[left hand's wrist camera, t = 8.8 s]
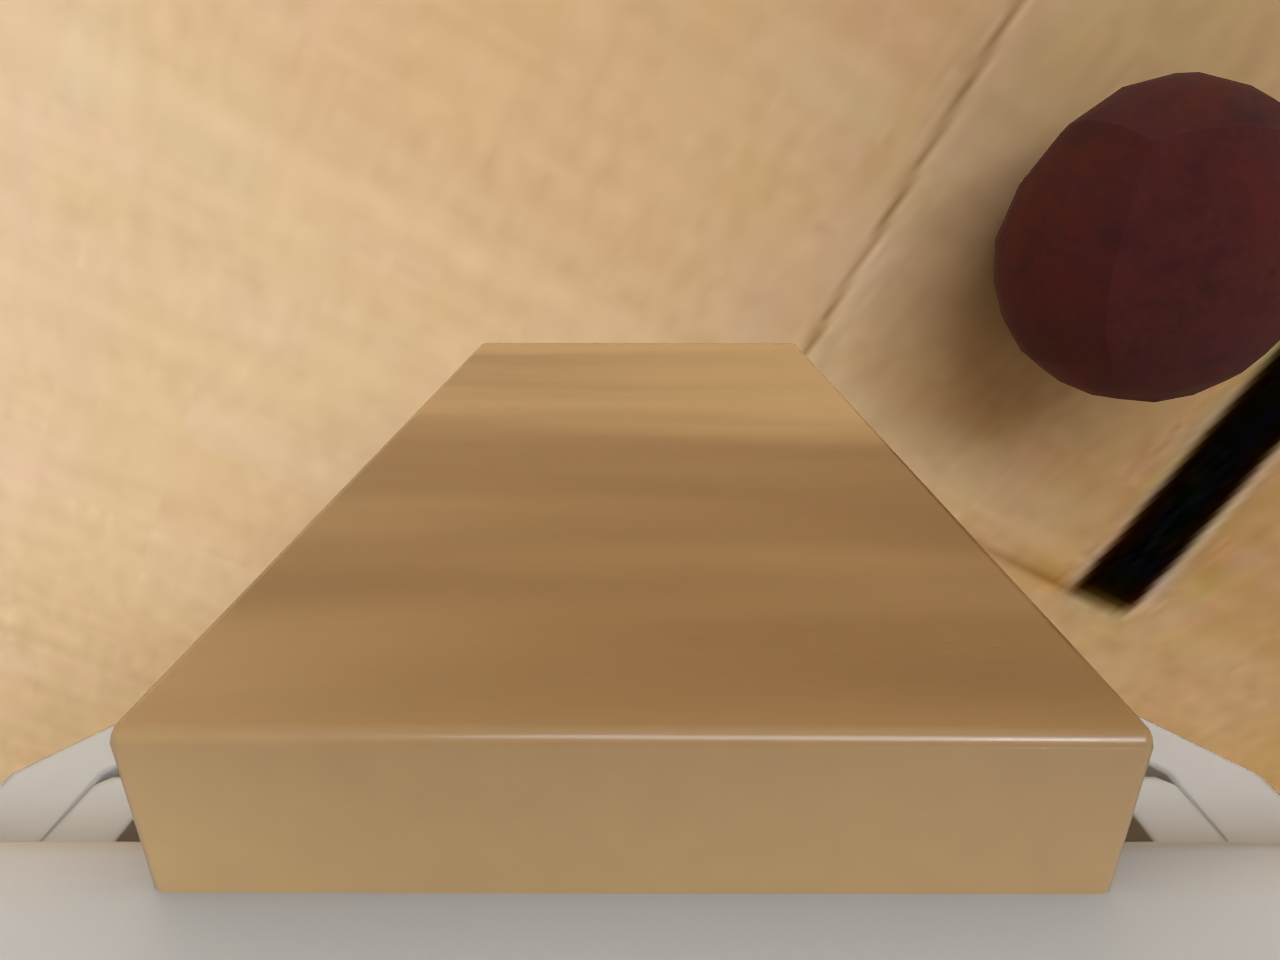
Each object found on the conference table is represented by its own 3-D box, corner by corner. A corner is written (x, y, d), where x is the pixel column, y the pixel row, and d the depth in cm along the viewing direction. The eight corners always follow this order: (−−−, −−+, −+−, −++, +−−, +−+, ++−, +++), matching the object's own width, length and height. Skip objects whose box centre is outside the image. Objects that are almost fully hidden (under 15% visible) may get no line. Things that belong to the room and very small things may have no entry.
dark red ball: (938, 368, 24) (1051, 440, 17) (972, 90, 21) (1123, 50, 14) (1175, 363, 24) (1379, 433, 17) (1241, 84, 21) (1516, 41, 14)
